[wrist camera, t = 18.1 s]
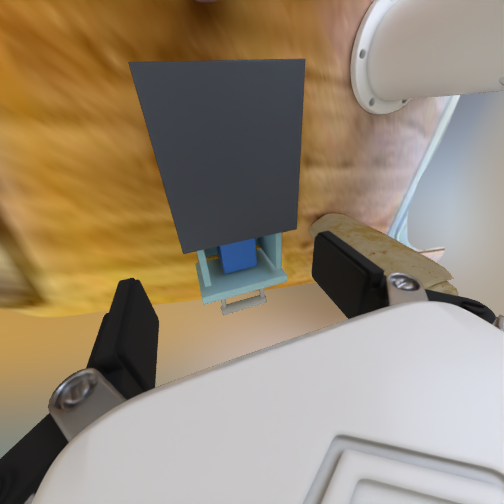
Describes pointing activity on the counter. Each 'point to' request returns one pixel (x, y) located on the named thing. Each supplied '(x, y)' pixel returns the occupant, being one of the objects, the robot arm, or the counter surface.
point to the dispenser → (225, 144)
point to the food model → (385, 251)
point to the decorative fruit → (206, 1)
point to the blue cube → (237, 255)
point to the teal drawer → (241, 275)
